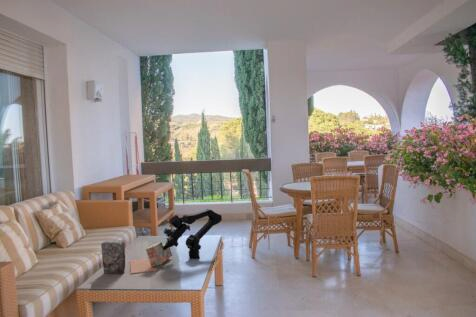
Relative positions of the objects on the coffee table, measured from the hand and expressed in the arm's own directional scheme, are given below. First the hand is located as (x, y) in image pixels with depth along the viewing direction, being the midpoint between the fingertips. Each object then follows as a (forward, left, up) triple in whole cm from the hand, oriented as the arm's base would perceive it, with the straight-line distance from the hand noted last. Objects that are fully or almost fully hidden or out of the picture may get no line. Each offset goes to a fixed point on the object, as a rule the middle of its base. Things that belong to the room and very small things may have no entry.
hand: (163, 249), depth 248 cm
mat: (+13, 0, -9) cm, 16 cm away
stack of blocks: (+1, 0, -8) cm, 8 cm away
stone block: (+31, +6, -9) cm, 33 cm away
